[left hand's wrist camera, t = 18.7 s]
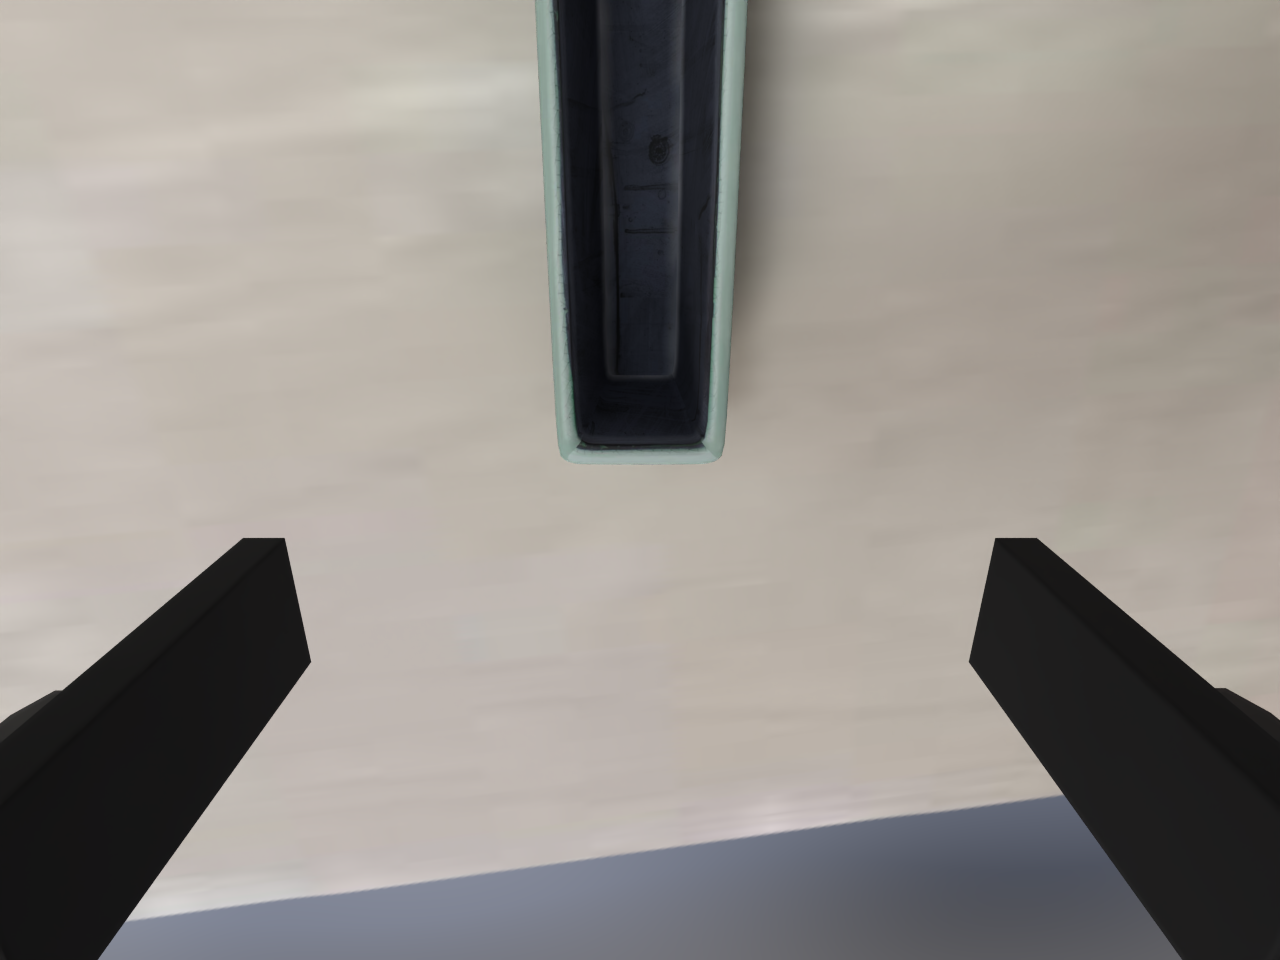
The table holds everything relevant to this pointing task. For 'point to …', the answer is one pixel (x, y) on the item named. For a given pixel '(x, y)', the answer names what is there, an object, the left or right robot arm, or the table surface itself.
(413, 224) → the table surface
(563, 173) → the planter
